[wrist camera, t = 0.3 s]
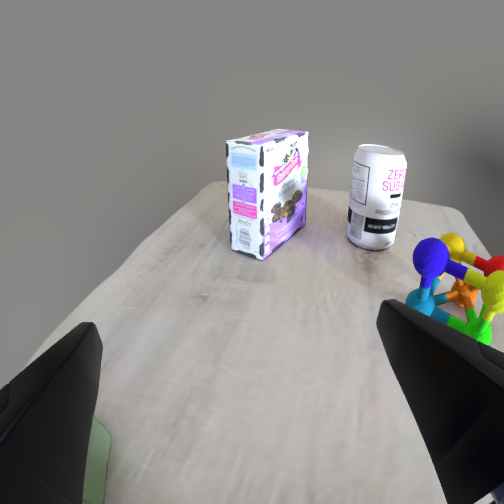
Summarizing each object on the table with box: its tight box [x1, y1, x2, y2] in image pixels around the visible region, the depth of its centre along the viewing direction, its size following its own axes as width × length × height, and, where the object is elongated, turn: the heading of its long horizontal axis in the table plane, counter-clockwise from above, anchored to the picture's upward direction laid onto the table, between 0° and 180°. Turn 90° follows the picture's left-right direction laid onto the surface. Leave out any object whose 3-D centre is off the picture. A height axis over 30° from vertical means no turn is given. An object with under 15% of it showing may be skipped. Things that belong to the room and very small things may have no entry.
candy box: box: [226, 129, 309, 260], centre depth 45 cm, size 14×6×16 cm, turn 145°
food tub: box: [83, 416, 112, 504], centre depth 15 cm, size 8×6×6 cm
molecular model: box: [405, 233, 504, 345], centre depth 27 cm, size 15×12×15 cm
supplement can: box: [346, 144, 407, 250], centre depth 44 cm, size 8×8×15 cm
